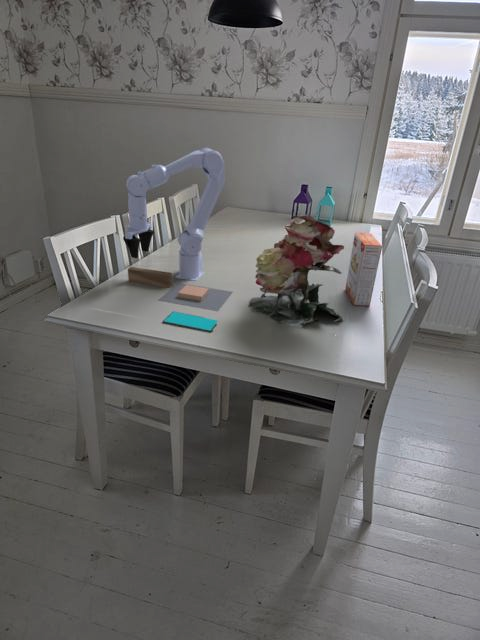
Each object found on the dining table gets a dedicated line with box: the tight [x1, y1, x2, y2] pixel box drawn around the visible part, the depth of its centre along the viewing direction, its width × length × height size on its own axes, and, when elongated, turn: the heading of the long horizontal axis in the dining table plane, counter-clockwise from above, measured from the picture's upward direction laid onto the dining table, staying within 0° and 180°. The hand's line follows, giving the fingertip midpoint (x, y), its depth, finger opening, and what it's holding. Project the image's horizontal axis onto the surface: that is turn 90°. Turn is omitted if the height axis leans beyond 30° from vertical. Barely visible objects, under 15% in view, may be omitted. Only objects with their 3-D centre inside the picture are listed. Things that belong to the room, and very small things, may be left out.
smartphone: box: [162, 311, 219, 333], centre depth 122 cm, size 7×1×15 cm
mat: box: [157, 282, 234, 312], centre depth 138 cm, size 16×20×1 cm
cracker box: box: [344, 232, 383, 307], centre depth 141 cm, size 14×6×21 cm, turn 178°
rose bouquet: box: [247, 214, 360, 329], centre depth 127 cm, size 26×29×30 cm
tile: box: [178, 284, 209, 301], centre depth 138 cm, size 7×2×8 cm
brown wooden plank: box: [127, 266, 173, 288], centre depth 145 cm, size 2×15×5 cm, turn 76°
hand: (140, 254), depth 144 cm, fingers open, 7 cm apart
